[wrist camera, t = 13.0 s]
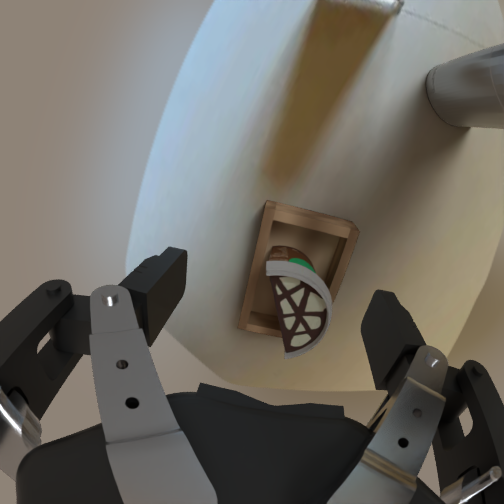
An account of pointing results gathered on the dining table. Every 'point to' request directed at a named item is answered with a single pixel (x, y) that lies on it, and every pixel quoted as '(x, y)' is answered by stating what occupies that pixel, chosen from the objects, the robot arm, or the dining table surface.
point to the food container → (298, 300)
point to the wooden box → (305, 240)
